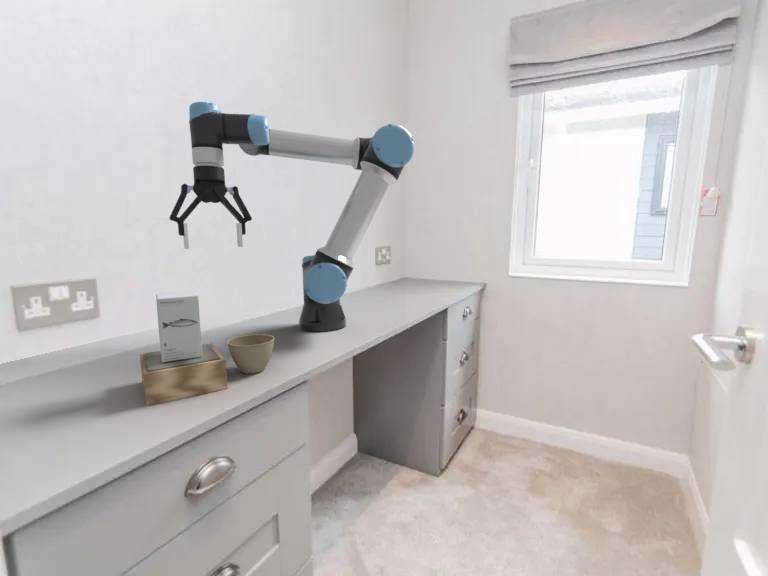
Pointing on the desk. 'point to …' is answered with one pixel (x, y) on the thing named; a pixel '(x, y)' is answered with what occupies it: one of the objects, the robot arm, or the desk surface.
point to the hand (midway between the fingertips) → (214, 247)
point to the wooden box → (182, 375)
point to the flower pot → (251, 352)
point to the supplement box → (179, 326)
